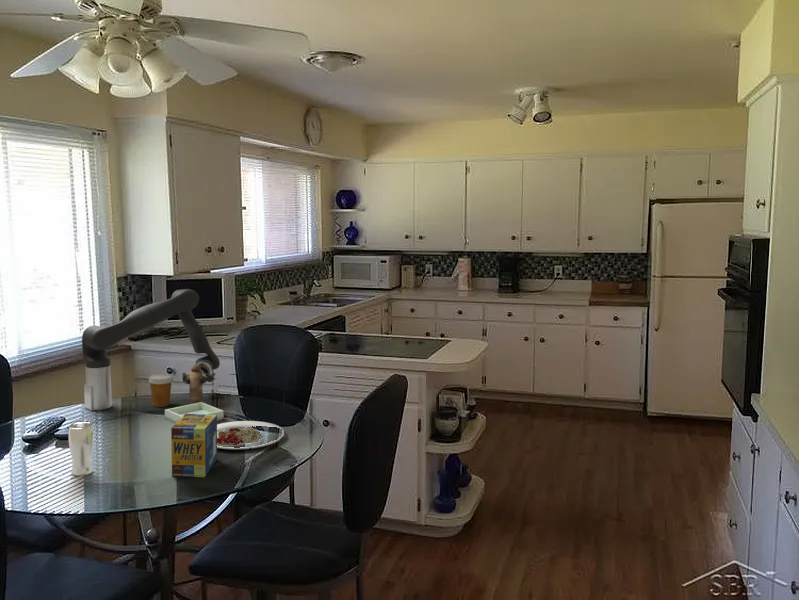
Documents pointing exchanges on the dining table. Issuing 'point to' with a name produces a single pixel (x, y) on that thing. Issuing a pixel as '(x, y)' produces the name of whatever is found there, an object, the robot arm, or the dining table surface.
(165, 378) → the disposable coffee cup
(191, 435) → the protein box
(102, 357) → the robot arm
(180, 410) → the bin
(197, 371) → the pepper mill
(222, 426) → the plated food
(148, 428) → the dining table surface
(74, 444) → the beer glass
